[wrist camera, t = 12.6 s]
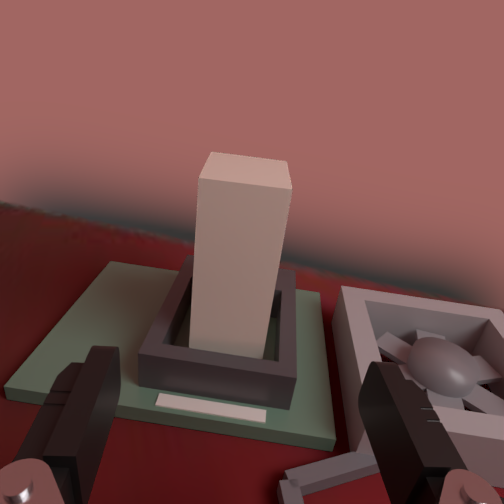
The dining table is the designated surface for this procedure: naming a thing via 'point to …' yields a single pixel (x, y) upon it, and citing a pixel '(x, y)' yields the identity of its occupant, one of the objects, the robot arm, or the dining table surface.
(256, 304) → the plug
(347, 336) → the fan
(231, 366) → the header board
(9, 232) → the dining table surface
